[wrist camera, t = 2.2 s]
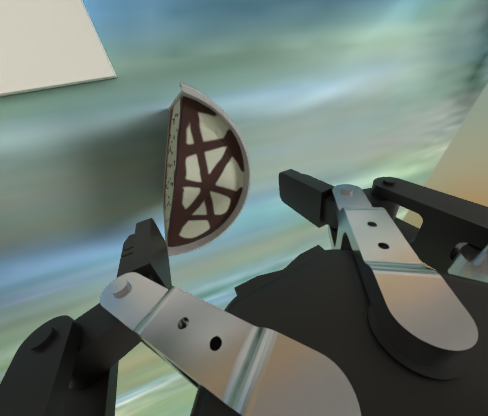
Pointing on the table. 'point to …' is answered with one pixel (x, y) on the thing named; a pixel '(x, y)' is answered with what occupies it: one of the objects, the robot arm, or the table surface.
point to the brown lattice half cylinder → (201, 172)
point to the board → (48, 46)
